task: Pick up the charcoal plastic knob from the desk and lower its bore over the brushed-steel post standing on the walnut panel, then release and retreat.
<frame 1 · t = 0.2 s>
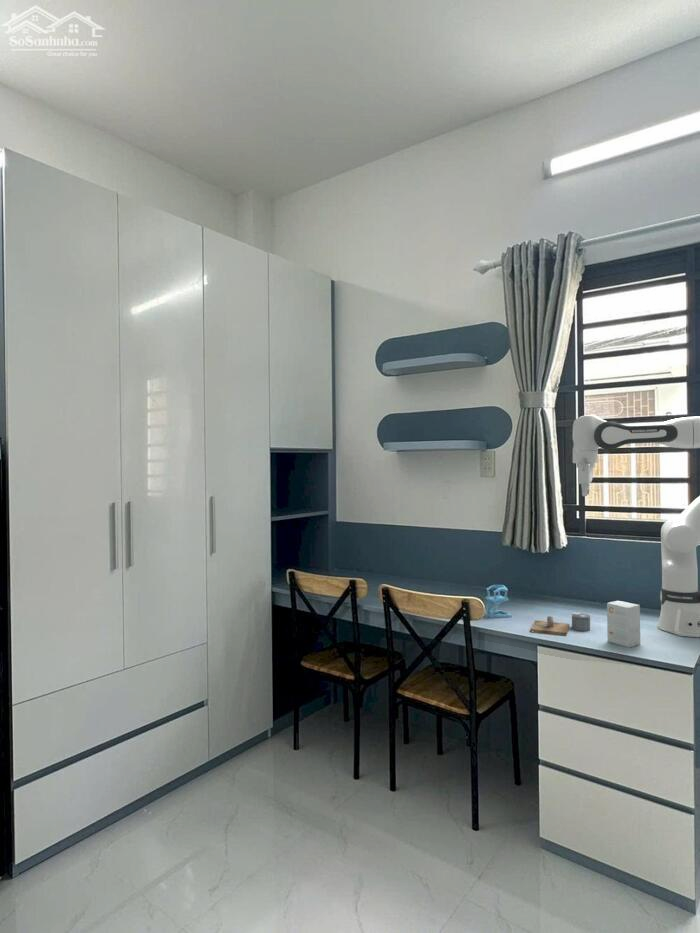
hand: (585, 495, 221), 47 cm above the table, fingers open, 8 cm apart
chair: (497, 616, 230), on the table
small box: (623, 643, 195), on the table
wooden peg board: (550, 629, 211), on the table
knob: (581, 628, 212), on the table
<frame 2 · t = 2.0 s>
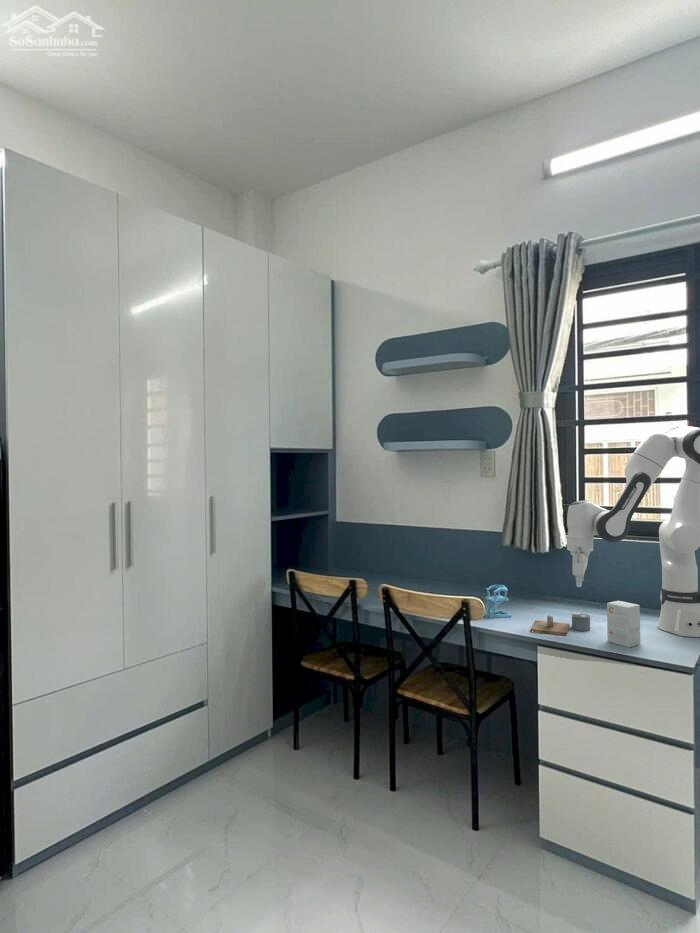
hand: (580, 583, 211), 16 cm above the table, fingers open, 8 cm apart
nothing on the table moved.
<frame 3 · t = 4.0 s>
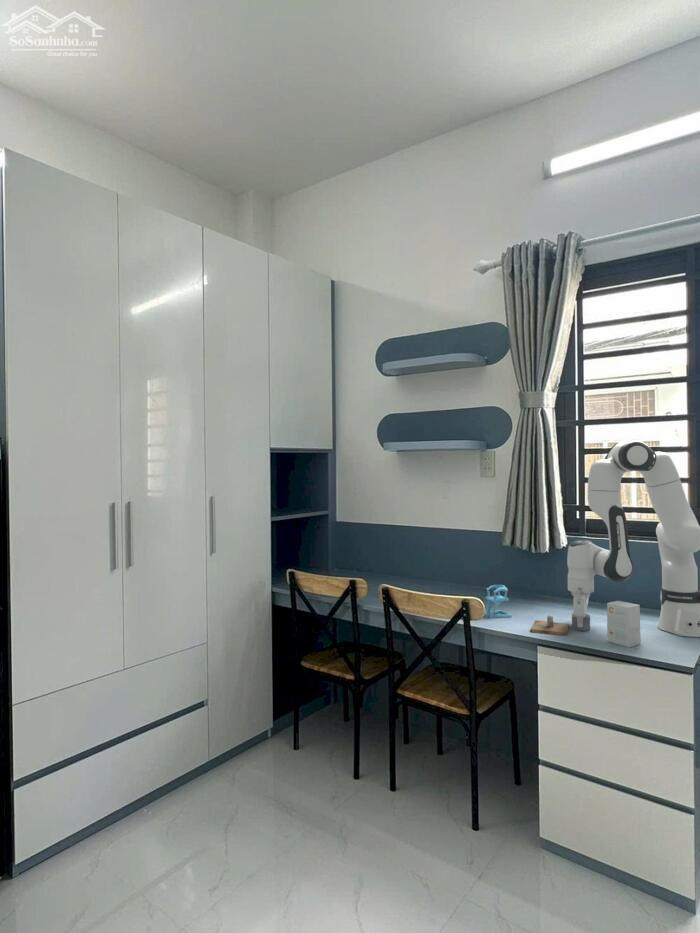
hand: (581, 623, 212), 2 cm above the table, fingers closed on knob, 6 cm apart
knob: (581, 628, 212), on the table, touching gripper
everything else where it was.
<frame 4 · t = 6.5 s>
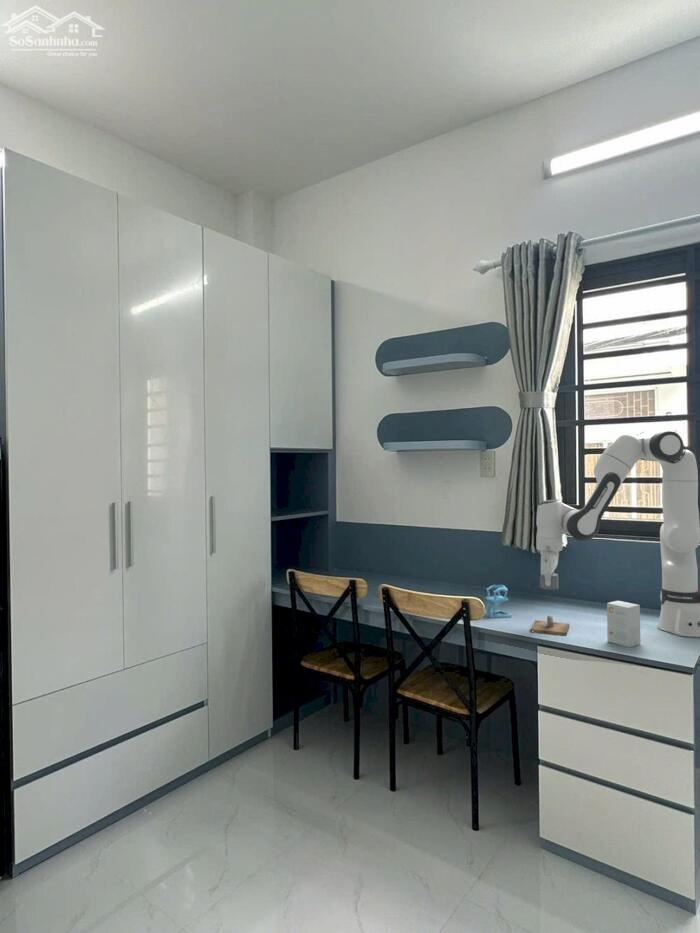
hand: (549, 583, 211), 17 cm above the table, fingers closed on knob, 6 cm apart
knob: (549, 587, 211), point 15 cm above the table, touching gripper
everything else where it was.
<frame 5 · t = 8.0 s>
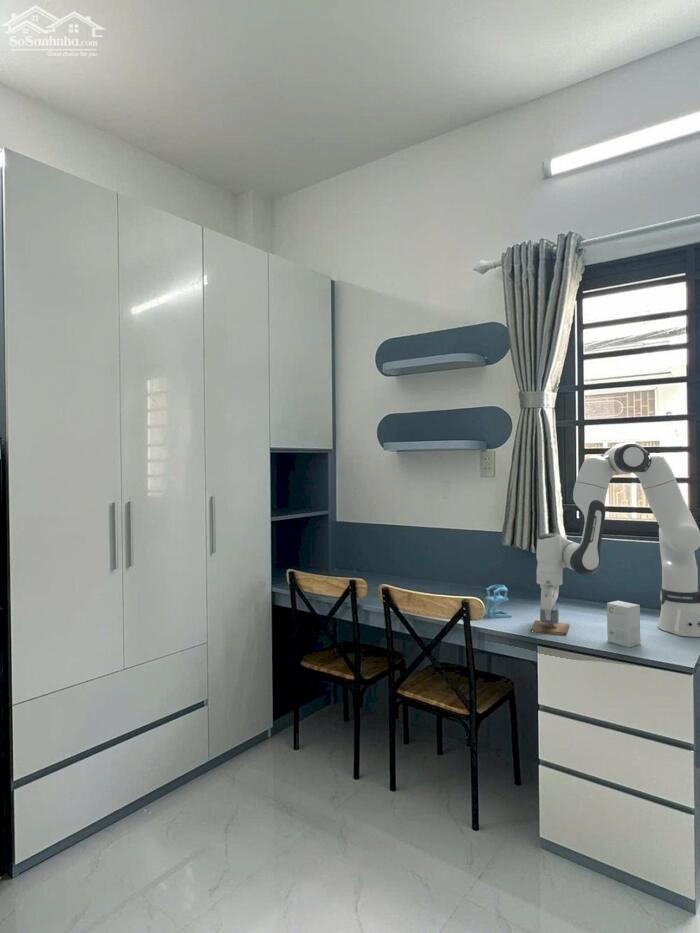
hand: (549, 617, 212), 4 cm above the table, fingers closed on knob, 6 cm apart
knob: (549, 621, 212), point 3 cm above the table, touching gripper
everything else where it was.
when the fingers open (4 cm above the table, at t = 9.0 s): knob drops 1 cm, resting on wooden peg board.
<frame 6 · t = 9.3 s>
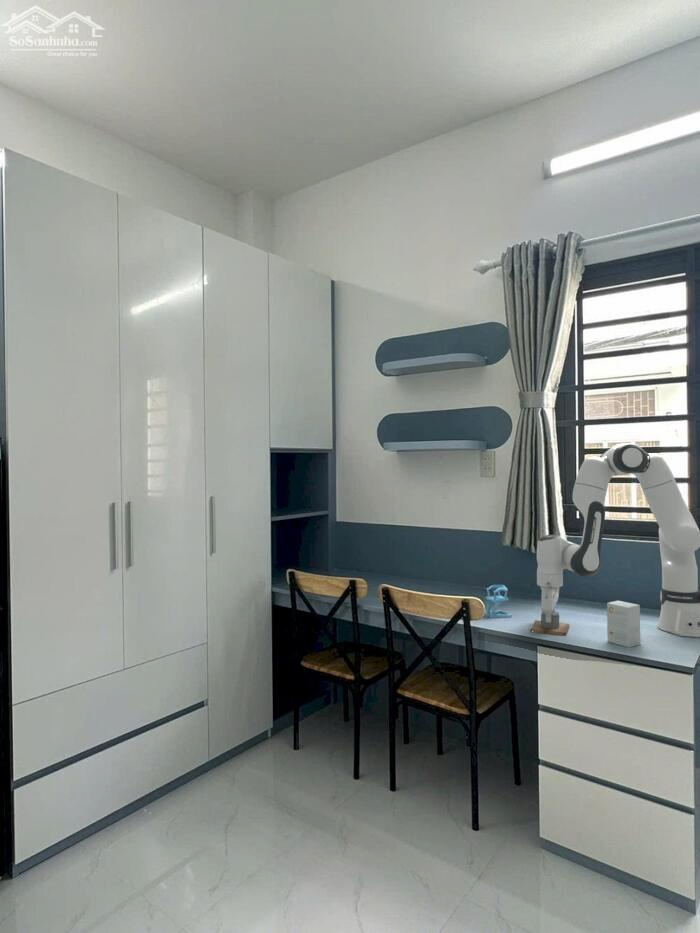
hand: (550, 618, 211), 4 cm above the table, fingers open, 8 cm apart
knob: (550, 626, 212), point 1 cm above the table, touching wooden peg board
everything else where it was.
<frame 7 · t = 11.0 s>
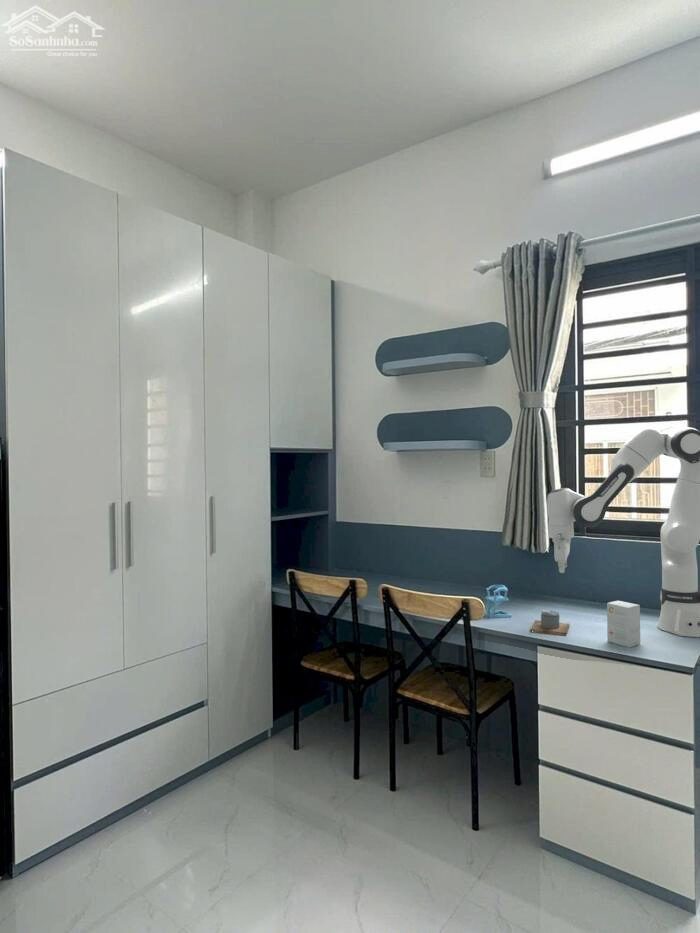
hand: (563, 570, 216), 20 cm above the table, fingers open, 8 cm apart
nothing on the table moved.
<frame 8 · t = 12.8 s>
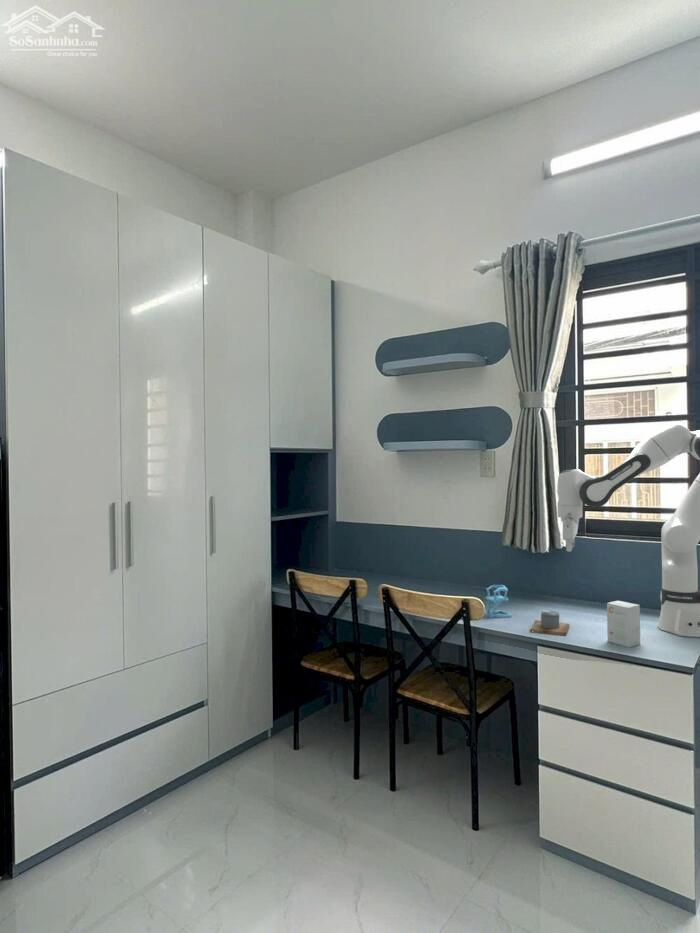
hand: (570, 549, 220), 27 cm above the table, fingers open, 8 cm apart
nothing on the table moved.
at the end: knob 0.1 cm off-centre on the wooden peg board, point 1.1 cm above the wooden peg board's base; knob tilted 1°; the gripper is holding nothing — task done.
